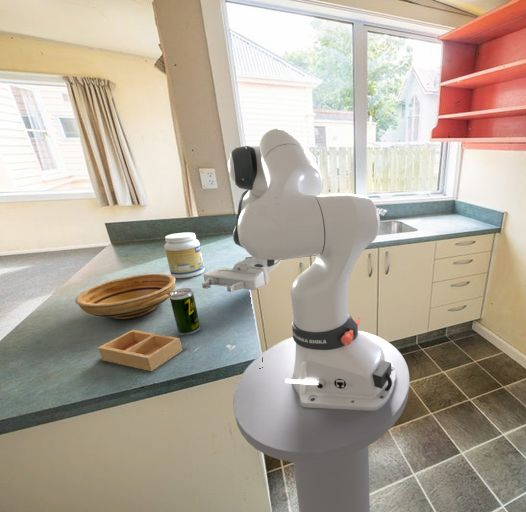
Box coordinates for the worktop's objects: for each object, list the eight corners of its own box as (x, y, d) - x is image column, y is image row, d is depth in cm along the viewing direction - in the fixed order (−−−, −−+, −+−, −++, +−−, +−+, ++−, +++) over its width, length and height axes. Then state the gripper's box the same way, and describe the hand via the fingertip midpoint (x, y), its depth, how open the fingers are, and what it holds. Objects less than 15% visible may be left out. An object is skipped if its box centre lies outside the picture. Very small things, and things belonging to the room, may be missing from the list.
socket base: (182, 350, 75) (179, 338, 74) (151, 371, 68) (147, 358, 66) (136, 341, 79) (133, 329, 78) (102, 360, 71) (97, 347, 70)
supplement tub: (208, 274, 125) (200, 235, 120) (173, 281, 117) (164, 240, 112) (201, 266, 133) (194, 230, 128) (169, 273, 126) (159, 234, 120)
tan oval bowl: (60, 319, 89) (51, 295, 87) (146, 288, 111) (141, 268, 108) (120, 340, 79) (111, 314, 76) (202, 302, 100) (198, 280, 98)
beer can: (174, 336, 81) (164, 296, 77) (184, 325, 86) (175, 288, 82) (195, 334, 82) (186, 295, 78) (204, 324, 87) (196, 287, 83)
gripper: (220, 261, 106) (187, 275, 93) (270, 266, 101) (242, 282, 88) (223, 277, 108) (191, 293, 95) (272, 283, 103) (245, 301, 90)
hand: (216, 288), depth 92 cm, fingers open, 8 cm apart
